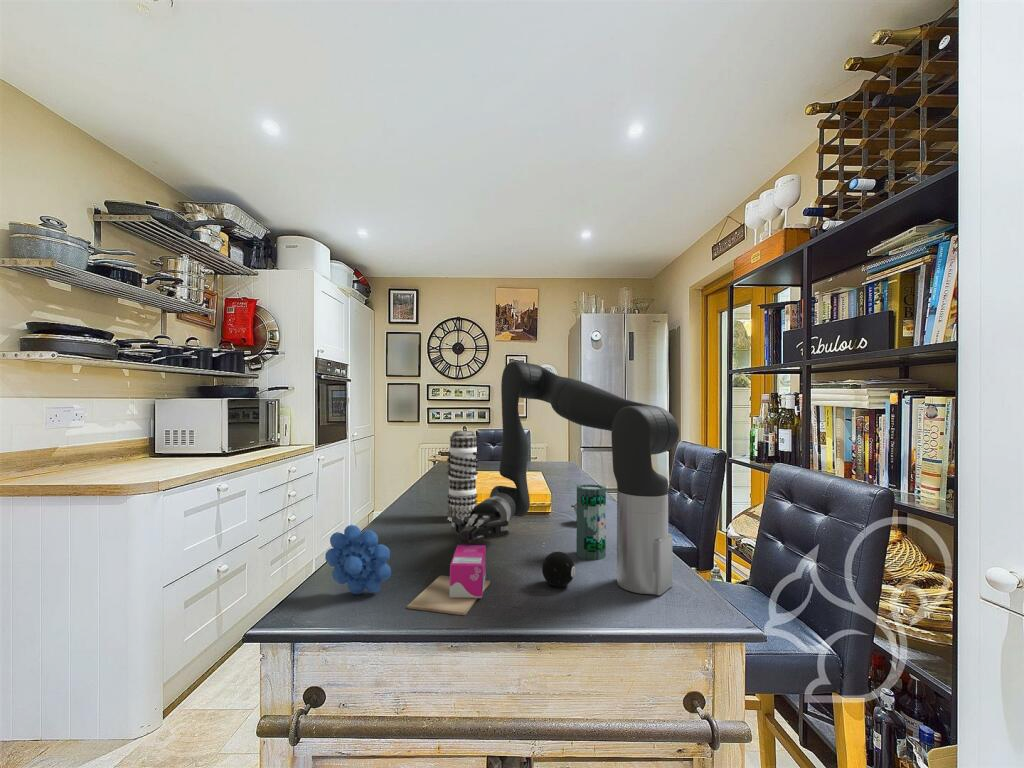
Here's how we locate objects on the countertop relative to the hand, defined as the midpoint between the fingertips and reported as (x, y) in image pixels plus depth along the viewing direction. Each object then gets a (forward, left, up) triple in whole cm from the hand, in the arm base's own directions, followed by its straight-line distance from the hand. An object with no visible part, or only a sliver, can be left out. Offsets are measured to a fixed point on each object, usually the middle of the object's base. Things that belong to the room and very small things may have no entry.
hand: (465, 537), depth 92 cm
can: (-11, -28, -8) cm, 31 cm away
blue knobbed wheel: (+9, +18, -8) cm, 21 cm away
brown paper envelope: (-3, +7, -8) cm, 11 cm away
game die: (+3, -51, -8) cm, 52 cm away
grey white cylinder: (+33, -32, -8) cm, 47 cm away
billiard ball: (-15, -9, -8) cm, 20 cm away
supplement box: (0, -2, -5) cm, 5 cm away
